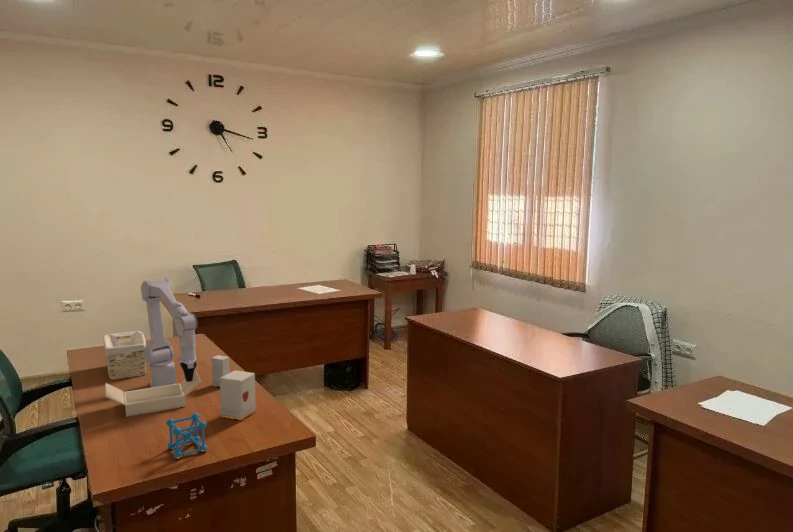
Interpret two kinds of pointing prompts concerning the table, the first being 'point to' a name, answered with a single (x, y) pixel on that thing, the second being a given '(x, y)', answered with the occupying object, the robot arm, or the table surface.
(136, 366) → the storage basket
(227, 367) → the skincare box
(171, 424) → the molecular structure
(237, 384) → the supplement box
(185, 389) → the carton flap
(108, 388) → the carton flap
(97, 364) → the table surface
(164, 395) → the carton
